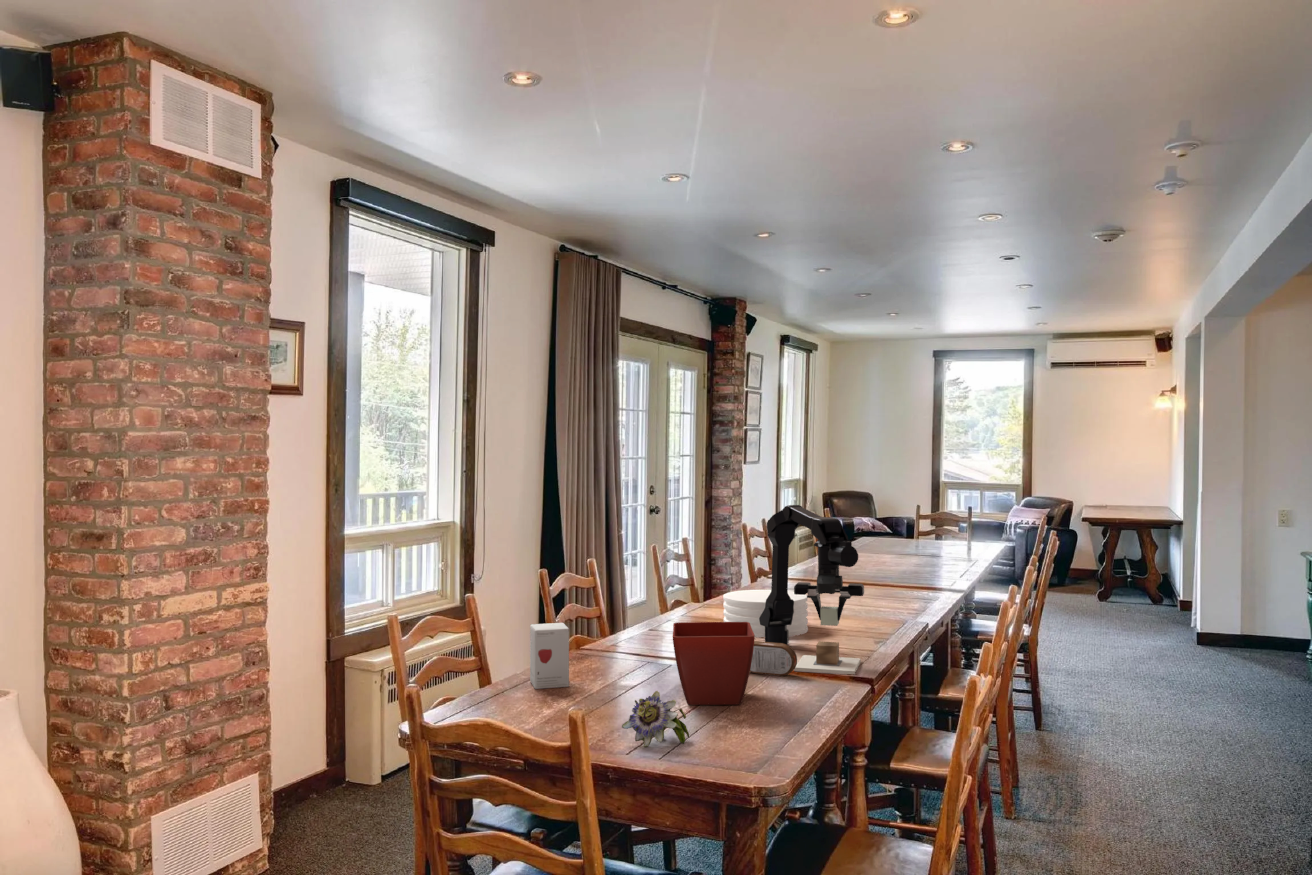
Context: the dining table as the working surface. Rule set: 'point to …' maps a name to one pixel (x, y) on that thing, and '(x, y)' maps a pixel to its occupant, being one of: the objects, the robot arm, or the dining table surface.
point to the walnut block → (827, 653)
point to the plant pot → (713, 660)
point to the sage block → (829, 616)
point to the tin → (773, 659)
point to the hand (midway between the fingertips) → (829, 620)
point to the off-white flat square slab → (828, 665)
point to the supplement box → (549, 655)
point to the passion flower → (655, 720)
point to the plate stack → (753, 604)
